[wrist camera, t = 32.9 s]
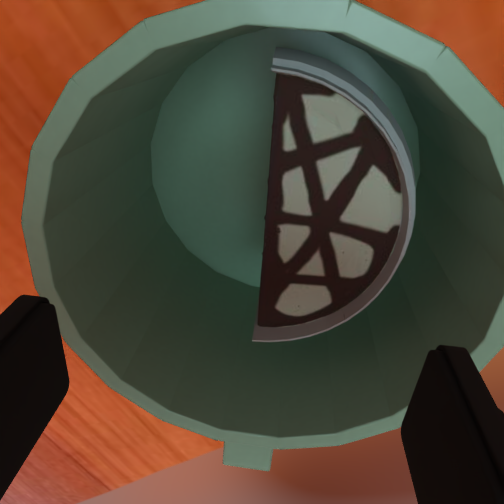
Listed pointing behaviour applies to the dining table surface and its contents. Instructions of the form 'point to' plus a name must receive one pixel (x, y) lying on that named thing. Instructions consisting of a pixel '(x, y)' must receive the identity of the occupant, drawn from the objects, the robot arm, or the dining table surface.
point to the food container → (329, 199)
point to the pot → (256, 224)
